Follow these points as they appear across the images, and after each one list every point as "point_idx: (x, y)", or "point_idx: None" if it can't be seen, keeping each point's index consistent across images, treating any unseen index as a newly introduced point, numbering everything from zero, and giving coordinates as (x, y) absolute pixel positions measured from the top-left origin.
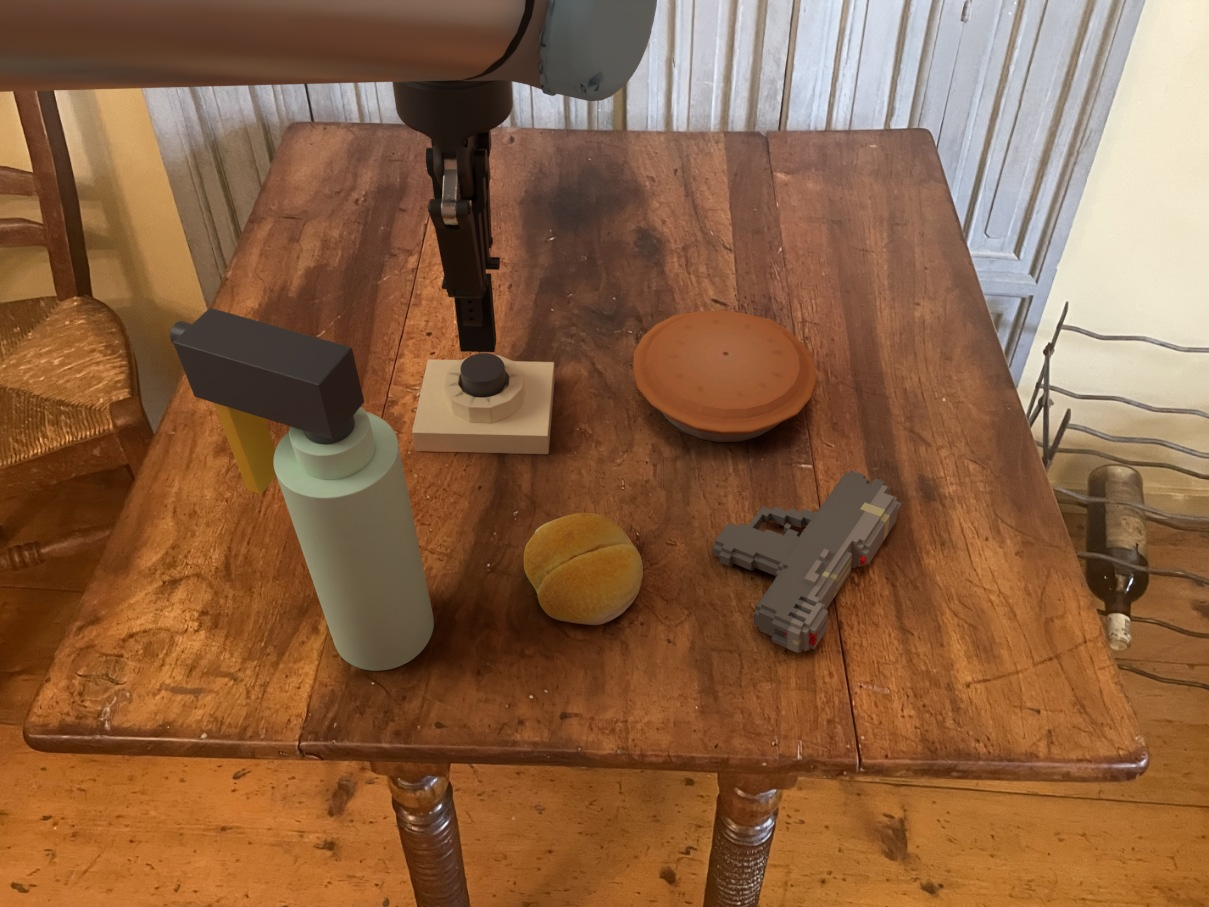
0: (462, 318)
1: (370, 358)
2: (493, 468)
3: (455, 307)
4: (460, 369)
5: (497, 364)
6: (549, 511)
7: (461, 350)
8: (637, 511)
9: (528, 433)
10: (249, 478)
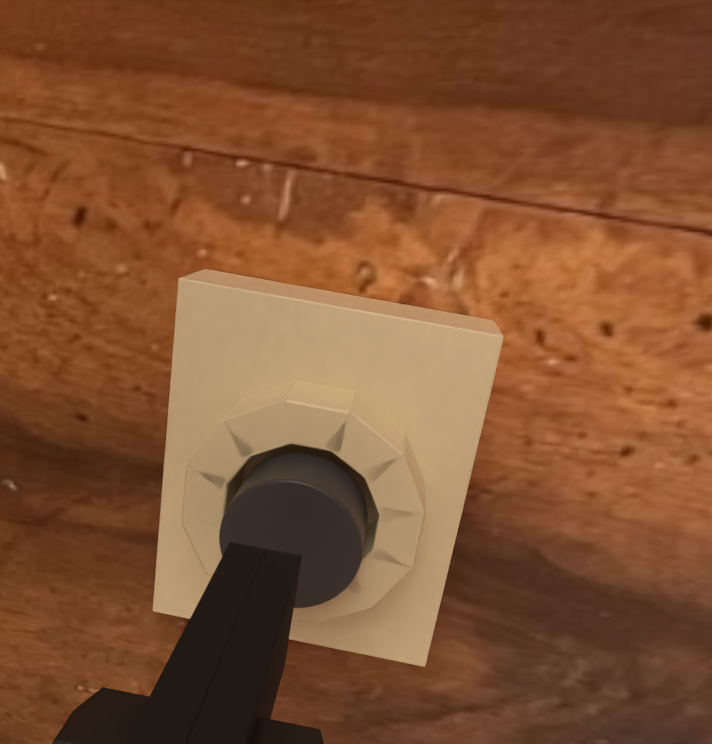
0: (61, 730)
1: (630, 129)
2: (140, 452)
3: (139, 718)
4: (288, 479)
5: (298, 589)
6: (16, 549)
7: (230, 547)
8: (21, 698)
9: (162, 571)
10: None
